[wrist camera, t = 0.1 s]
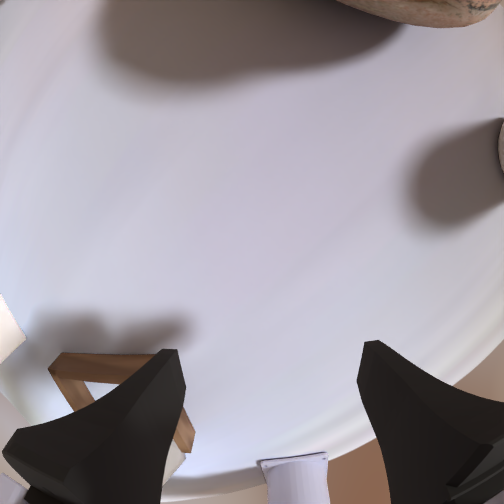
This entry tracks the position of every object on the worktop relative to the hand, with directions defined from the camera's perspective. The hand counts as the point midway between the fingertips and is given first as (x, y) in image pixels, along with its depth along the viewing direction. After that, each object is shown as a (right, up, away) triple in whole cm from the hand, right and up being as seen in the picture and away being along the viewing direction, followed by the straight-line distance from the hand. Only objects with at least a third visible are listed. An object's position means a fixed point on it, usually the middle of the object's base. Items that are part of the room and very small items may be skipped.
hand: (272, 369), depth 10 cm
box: (-13, -11, +14) cm, 22 cm away
